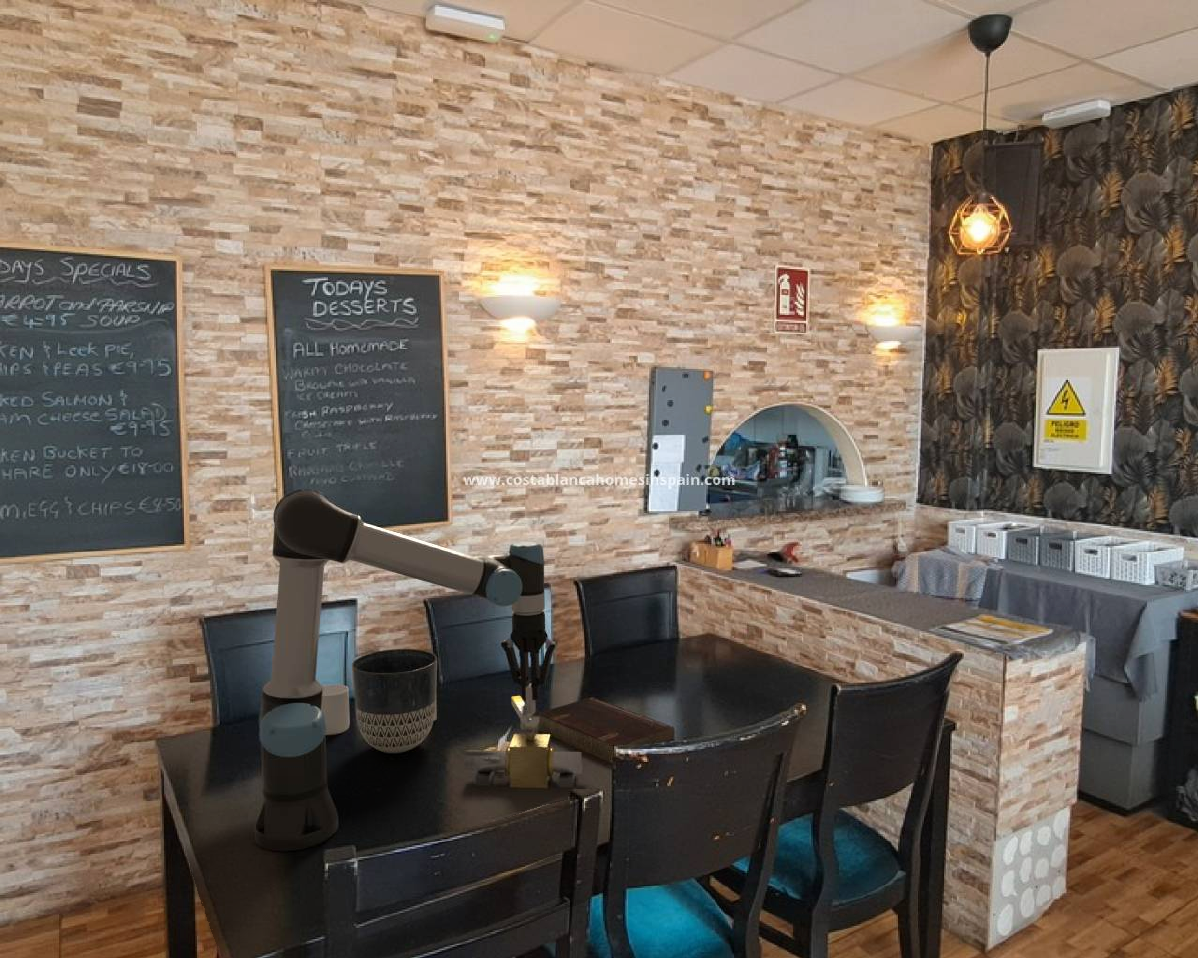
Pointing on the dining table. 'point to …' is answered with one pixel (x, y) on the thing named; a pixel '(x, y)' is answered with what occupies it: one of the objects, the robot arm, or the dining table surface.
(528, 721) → the lever
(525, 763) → the valve
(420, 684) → the planter
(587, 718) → the hardback book
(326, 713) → the cup
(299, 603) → the robot arm
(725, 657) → the dining table surface
